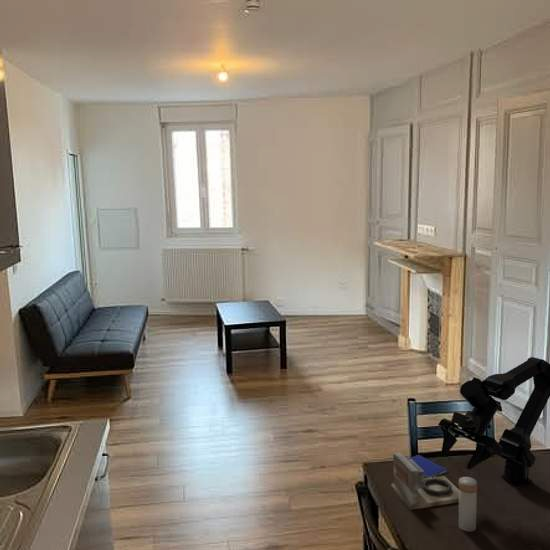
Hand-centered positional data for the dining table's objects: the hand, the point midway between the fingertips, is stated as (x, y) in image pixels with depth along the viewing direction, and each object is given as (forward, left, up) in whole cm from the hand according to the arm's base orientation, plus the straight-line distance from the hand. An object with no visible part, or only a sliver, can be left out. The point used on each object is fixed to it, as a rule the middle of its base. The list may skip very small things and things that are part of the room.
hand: (454, 462), depth 159 cm
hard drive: (-6, -23, -14) cm, 28 cm away
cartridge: (+3, +9, -13) cm, 17 cm away
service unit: (+2, -9, -13) cm, 16 cm away
